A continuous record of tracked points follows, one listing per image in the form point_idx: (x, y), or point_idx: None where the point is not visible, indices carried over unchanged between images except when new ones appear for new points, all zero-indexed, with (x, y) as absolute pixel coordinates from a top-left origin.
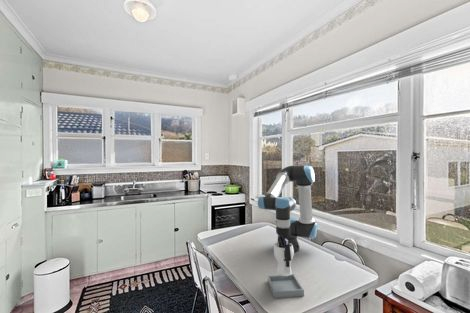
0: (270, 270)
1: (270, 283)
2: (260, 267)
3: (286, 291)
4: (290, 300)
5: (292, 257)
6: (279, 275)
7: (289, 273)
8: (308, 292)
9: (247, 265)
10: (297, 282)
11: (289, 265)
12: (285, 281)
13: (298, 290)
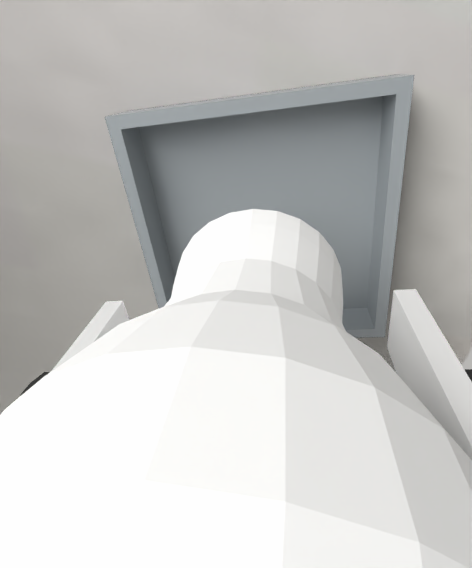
0: (25, 276)
1: None
2: (6, 331)
3: (393, 250)
4: (428, 212)
5: (391, 376)
6: (149, 259)
7: (331, 258)
8: (348, 3)
9: (9, 392)
10: (256, 111)
11: (456, 367)
12: (181, 202)
13: (405, 139)
